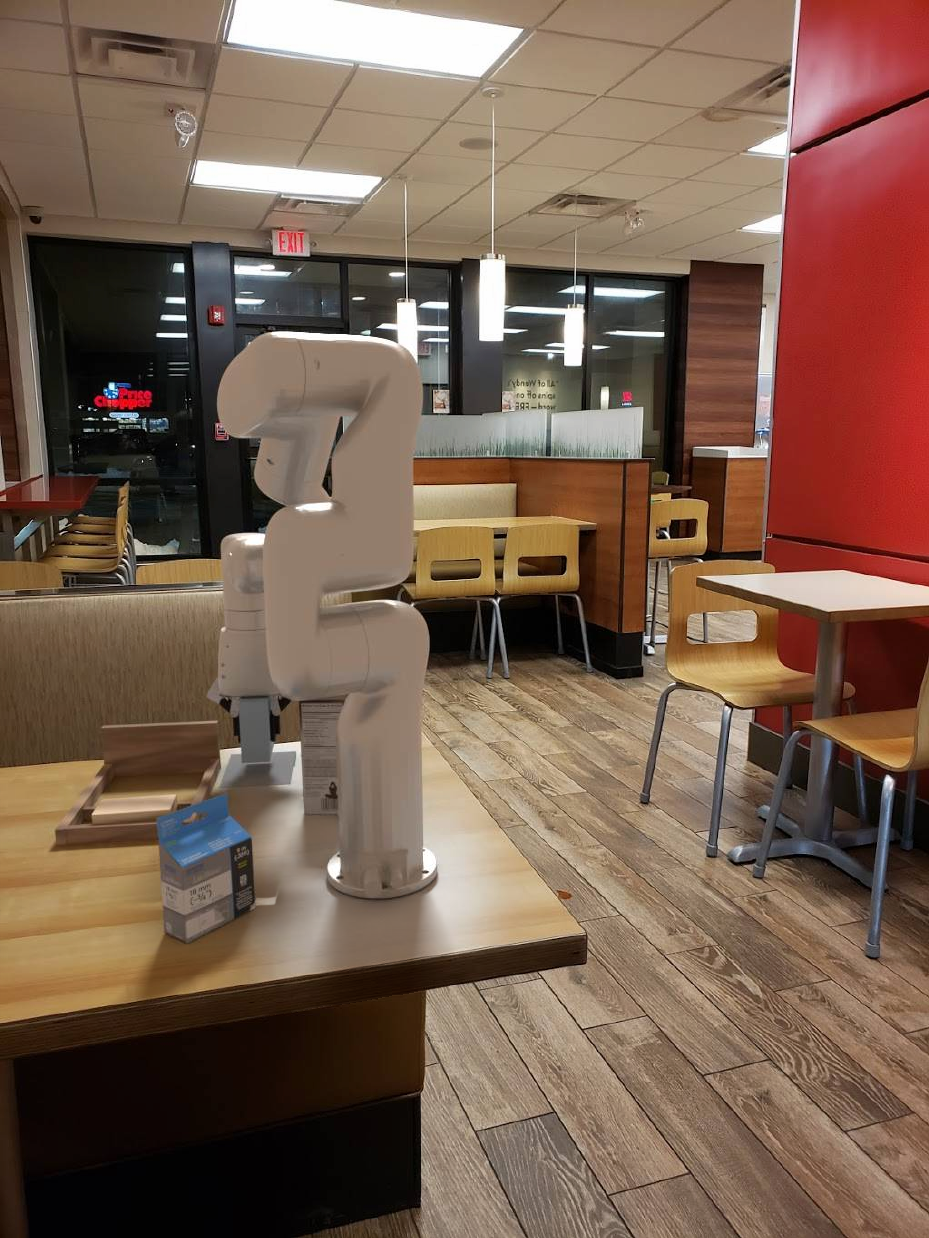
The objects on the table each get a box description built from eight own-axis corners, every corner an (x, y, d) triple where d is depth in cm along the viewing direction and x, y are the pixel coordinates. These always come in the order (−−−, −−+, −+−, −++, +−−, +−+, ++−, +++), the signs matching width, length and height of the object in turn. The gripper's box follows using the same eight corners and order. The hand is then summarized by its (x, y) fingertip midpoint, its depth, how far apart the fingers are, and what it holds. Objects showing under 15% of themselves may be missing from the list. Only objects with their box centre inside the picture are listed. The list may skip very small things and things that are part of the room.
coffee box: (315, 789, 129) (310, 680, 126) (360, 789, 129) (356, 680, 126) (302, 815, 120) (297, 698, 117) (350, 815, 120) (346, 698, 117)
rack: (194, 840, 113) (190, 779, 111) (56, 848, 111) (50, 787, 109) (221, 771, 136) (217, 720, 135) (107, 777, 134) (103, 725, 133)
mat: (290, 787, 130) (290, 783, 130) (219, 791, 129) (219, 787, 129) (296, 754, 144) (296, 751, 143) (231, 757, 142) (231, 754, 142)
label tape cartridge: (186, 946, 90) (178, 829, 87) (162, 933, 92) (154, 819, 89) (257, 909, 96) (251, 799, 94) (233, 898, 99) (226, 791, 96)
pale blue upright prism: (269, 761, 132) (267, 702, 130) (241, 763, 132) (238, 703, 130) (274, 743, 140) (271, 687, 138) (247, 744, 139) (244, 688, 138)
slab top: (171, 820, 114) (170, 809, 113) (92, 826, 113) (91, 814, 112) (177, 804, 118) (176, 794, 118) (102, 810, 117) (101, 799, 117)
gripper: (311, 612, 136) (315, 729, 140) (196, 615, 134) (203, 733, 138) (309, 622, 129) (313, 745, 133) (187, 626, 127) (195, 750, 131)
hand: (257, 738), depth 135 cm, fingers closed on pale blue upright prism, 4 cm apart
